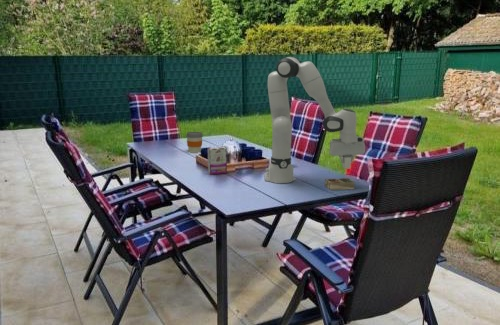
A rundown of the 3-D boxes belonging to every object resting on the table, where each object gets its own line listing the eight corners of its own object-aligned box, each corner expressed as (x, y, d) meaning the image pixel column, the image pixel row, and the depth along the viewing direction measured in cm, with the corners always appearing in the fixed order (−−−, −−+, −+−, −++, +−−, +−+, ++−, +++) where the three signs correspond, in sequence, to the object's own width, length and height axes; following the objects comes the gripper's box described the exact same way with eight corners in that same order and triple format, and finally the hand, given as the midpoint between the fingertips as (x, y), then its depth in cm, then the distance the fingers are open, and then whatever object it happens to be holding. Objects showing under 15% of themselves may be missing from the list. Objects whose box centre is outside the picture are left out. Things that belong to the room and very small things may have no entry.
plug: (342, 167, 247) (342, 153, 245) (348, 167, 248) (348, 153, 246) (344, 169, 243) (345, 154, 242) (350, 168, 244) (351, 154, 242)
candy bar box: (224, 171, 280) (224, 146, 276) (226, 173, 275) (227, 148, 271) (207, 173, 275) (207, 147, 272) (209, 175, 271) (209, 149, 267)
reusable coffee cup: (186, 150, 346) (186, 131, 343) (202, 150, 347) (202, 131, 344) (186, 153, 334) (185, 134, 330) (202, 153, 335) (202, 134, 332)
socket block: (324, 185, 249) (325, 178, 248) (347, 184, 252) (348, 177, 251) (330, 190, 241) (331, 182, 240) (354, 189, 243) (354, 181, 243)
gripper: (332, 140, 237) (331, 164, 240) (367, 138, 241) (365, 163, 244) (327, 138, 243) (327, 162, 246) (362, 136, 247) (360, 160, 250)
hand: (346, 162), depth 245 cm, fingers closed on plug, 4 cm apart
